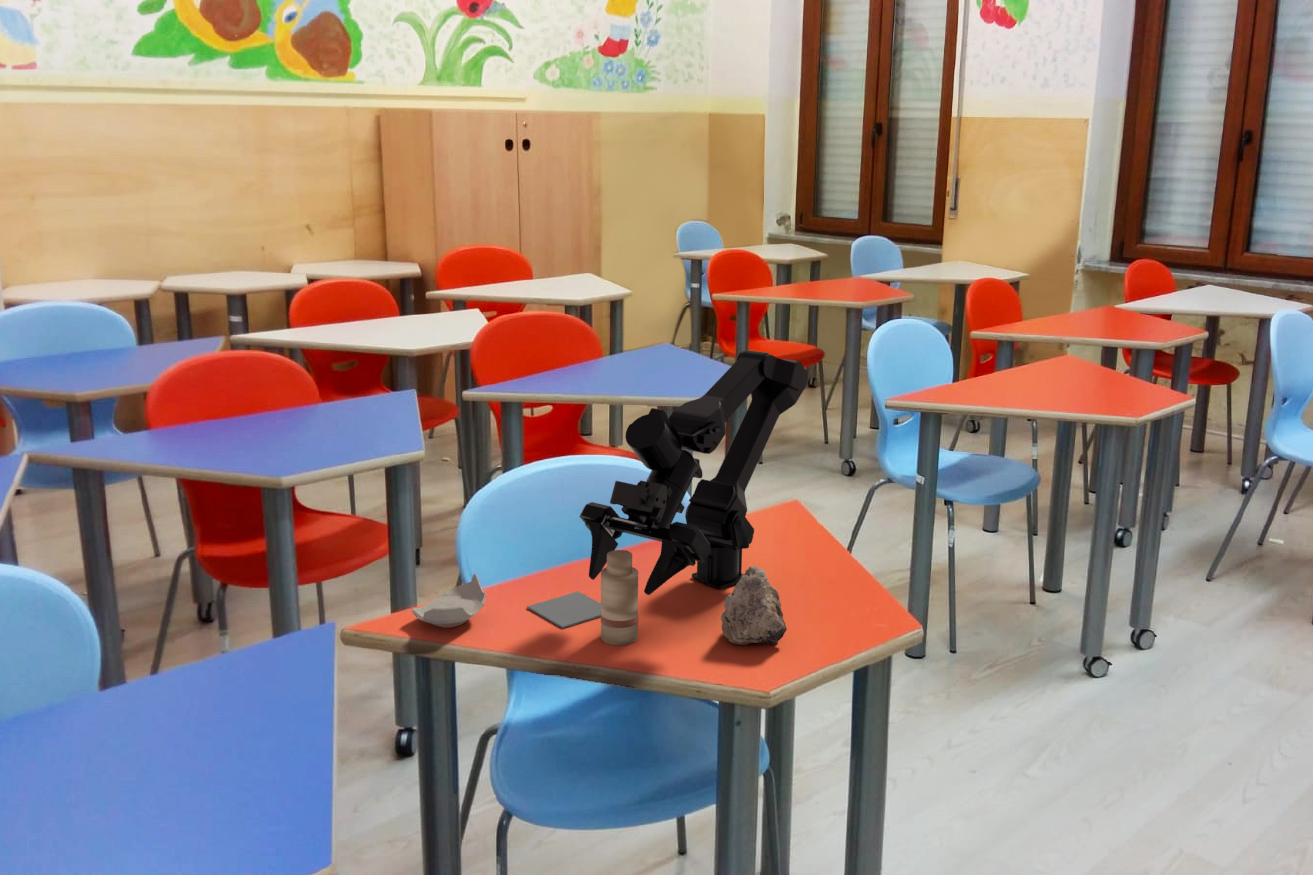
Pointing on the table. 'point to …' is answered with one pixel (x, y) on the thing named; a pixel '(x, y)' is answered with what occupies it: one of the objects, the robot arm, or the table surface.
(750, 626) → the rock
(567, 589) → the table surface
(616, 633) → the skittle
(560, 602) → the mat
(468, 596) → the pottery shard
